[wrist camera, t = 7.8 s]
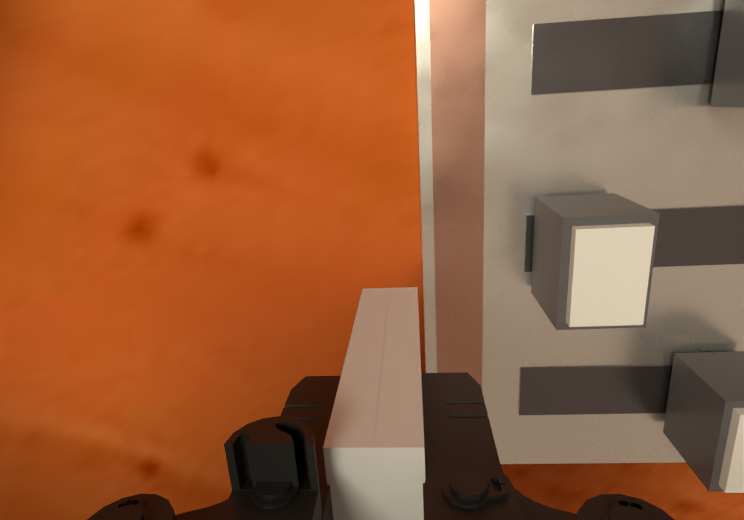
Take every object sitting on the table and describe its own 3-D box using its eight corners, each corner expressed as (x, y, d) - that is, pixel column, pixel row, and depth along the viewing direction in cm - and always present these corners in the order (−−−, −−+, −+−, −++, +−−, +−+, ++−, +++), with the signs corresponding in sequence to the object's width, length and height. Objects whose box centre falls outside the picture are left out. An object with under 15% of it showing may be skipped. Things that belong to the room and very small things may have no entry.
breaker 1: (531, 292, 20) (559, 335, 17) (535, 197, 19) (567, 220, 16) (605, 289, 20) (651, 332, 17) (614, 193, 19) (666, 216, 15)
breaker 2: (663, 432, 22) (715, 499, 18) (674, 353, 21) (732, 407, 17) (732, 431, 22) (800, 498, 18) (748, 351, 21) (824, 406, 17)
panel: (427, 444, 25) (428, 466, 24) (412, -44, 19) (413, -56, 17) (798, 439, 24) (825, 462, 23) (928, -87, 17) (978, -105, 16)
